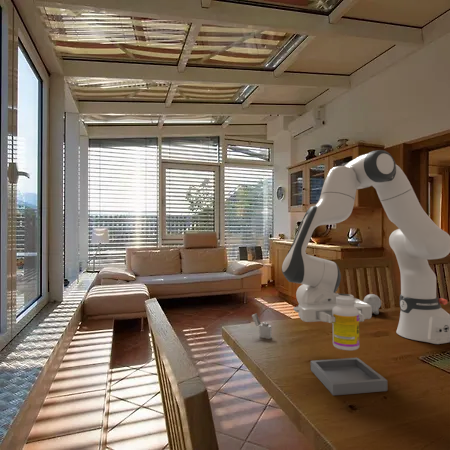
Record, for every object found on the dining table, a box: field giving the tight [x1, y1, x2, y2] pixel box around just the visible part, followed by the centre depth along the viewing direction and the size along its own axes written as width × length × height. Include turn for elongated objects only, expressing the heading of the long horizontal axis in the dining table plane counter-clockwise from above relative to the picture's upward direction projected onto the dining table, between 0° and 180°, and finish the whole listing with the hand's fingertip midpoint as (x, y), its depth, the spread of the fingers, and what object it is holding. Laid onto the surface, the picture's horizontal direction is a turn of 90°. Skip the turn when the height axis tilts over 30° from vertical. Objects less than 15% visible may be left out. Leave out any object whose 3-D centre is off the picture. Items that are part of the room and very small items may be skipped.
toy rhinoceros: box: [363, 293, 382, 315], centre depth 152 cm, size 7×12×8 cm, turn 142°
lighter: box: [251, 313, 272, 340], centre depth 123 cm, size 7×2×8 cm, turn 59°
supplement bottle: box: [331, 296, 360, 351], centre depth 89 cm, size 7×7×13 cm
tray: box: [310, 357, 388, 396], centre depth 89 cm, size 14×14×3 cm
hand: (347, 319), depth 88 cm, fingers closed on supplement bottle, 6 cm apart
